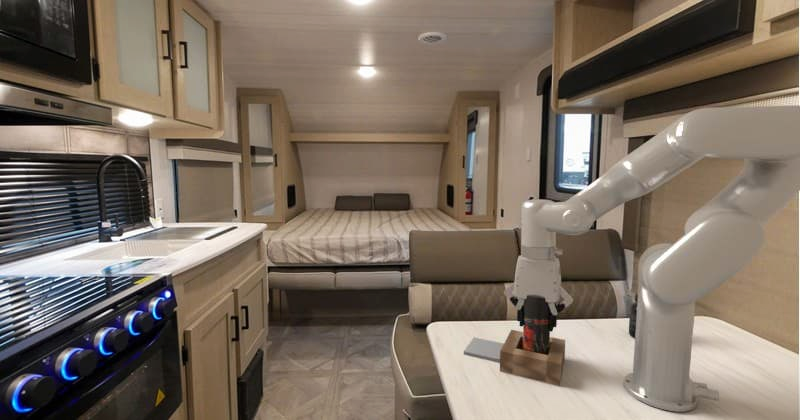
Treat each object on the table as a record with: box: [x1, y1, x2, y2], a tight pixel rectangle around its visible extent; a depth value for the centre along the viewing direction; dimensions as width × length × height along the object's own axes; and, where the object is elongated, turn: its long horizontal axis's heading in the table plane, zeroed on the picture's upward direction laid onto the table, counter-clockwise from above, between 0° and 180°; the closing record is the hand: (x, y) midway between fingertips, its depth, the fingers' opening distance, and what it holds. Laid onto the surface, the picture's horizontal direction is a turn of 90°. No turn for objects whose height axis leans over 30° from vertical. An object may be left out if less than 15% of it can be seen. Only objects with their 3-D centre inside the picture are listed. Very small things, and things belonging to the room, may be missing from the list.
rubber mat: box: [463, 336, 505, 363], centre depth 97 cm, size 9×9×1 cm
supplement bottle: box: [628, 292, 638, 339], centre depth 104 cm, size 7×7×12 cm
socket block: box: [499, 329, 566, 387], centre depth 89 cm, size 13×13×5 cm
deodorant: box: [522, 296, 551, 355], centre depth 89 cm, size 6×6×15 cm
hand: (536, 326), depth 89 cm, fingers closed on deodorant, 6 cm apart
